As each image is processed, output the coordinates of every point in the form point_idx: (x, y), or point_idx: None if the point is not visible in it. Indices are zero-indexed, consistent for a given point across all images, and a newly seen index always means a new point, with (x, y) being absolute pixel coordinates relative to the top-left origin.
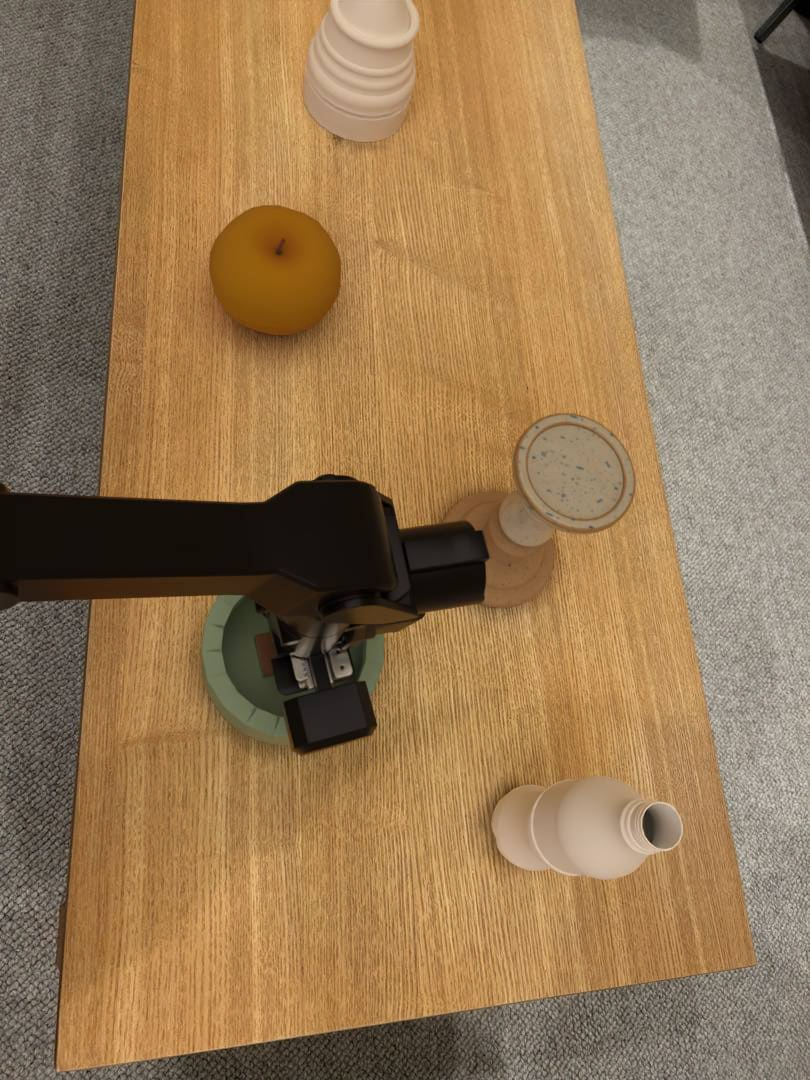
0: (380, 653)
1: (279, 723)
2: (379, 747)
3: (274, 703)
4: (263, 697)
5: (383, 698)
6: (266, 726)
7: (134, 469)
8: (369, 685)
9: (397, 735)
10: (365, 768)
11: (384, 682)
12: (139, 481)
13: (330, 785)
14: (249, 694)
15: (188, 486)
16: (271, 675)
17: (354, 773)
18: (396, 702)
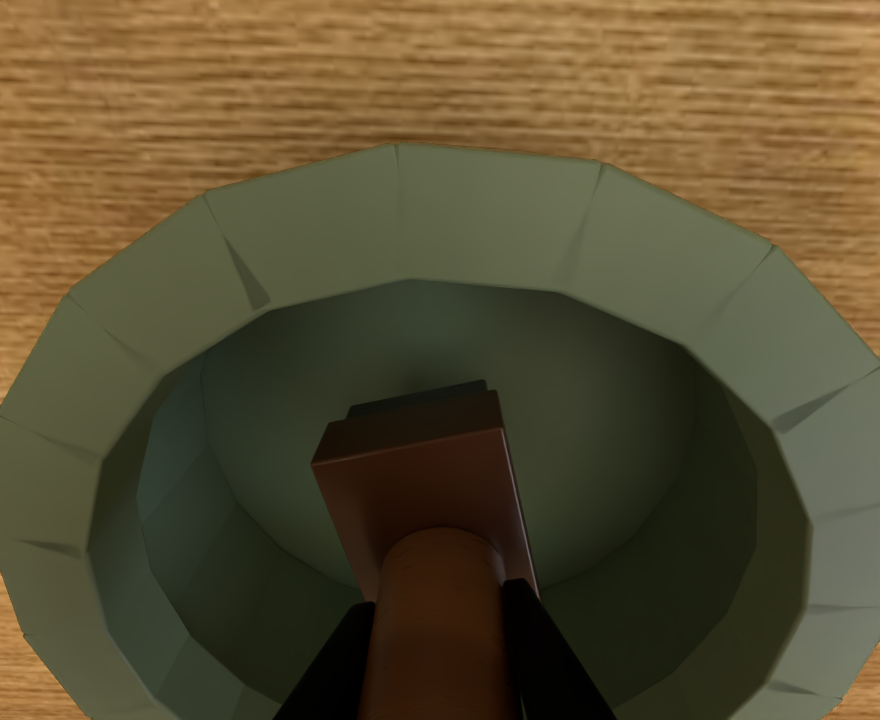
0: (515, 182)
1: (798, 680)
2: (791, 116)
3: (579, 468)
4: (558, 495)
5: (605, 89)
6: (794, 717)
7: (9, 710)
8: (728, 272)
9: (767, 29)
10: (850, 178)
11: (542, 81)
12: (33, 703)
13: (862, 304)
14: (544, 524)
15: (4, 627)
16: (541, 596)
17: (853, 220)
18: (630, 27)
